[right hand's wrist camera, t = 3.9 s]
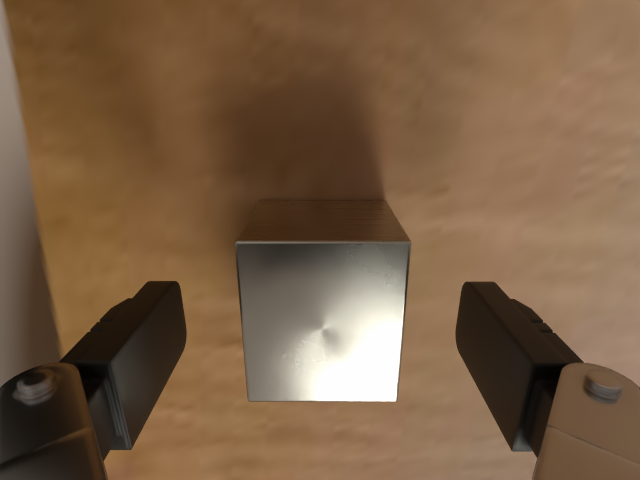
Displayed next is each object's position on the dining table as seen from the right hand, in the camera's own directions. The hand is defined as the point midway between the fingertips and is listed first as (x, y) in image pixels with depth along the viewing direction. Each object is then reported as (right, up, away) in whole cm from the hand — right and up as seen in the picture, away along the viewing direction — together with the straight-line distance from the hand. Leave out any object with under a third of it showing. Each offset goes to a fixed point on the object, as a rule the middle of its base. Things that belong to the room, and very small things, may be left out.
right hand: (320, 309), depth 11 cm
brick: (0, +1, +3) cm, 4 cm away
